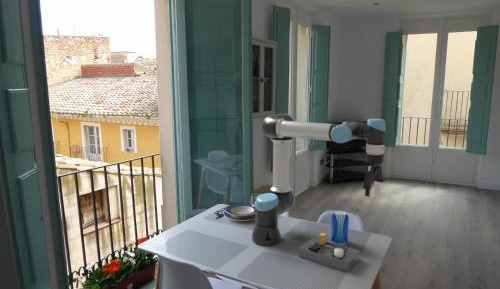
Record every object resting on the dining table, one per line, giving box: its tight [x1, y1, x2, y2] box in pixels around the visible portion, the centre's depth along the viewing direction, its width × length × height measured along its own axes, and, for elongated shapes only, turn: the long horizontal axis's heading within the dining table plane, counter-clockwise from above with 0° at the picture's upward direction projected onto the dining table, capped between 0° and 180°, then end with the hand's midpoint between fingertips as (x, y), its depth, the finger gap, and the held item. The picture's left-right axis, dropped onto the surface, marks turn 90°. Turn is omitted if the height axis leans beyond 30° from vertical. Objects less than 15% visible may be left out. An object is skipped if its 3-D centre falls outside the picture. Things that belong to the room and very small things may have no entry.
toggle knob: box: [318, 232, 328, 244], centre depth 169 cm, size 2×3×5 cm
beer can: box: [330, 210, 350, 246], centre depth 180 cm, size 8×8×16 cm
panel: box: [298, 237, 361, 274], centre depth 164 cm, size 24×14×5 cm, turn 54°
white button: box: [334, 248, 344, 259], centre depth 157 cm, size 4×4×4 cm
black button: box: [310, 241, 319, 252], centre depth 164 cm, size 4×4×4 cm
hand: (372, 199), depth 162 cm, fingers open, 13 cm apart
